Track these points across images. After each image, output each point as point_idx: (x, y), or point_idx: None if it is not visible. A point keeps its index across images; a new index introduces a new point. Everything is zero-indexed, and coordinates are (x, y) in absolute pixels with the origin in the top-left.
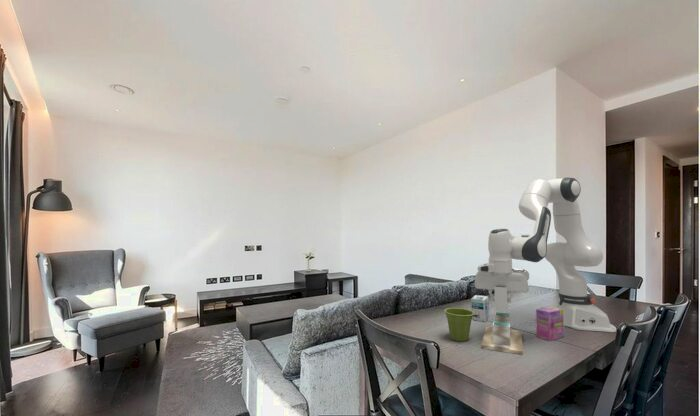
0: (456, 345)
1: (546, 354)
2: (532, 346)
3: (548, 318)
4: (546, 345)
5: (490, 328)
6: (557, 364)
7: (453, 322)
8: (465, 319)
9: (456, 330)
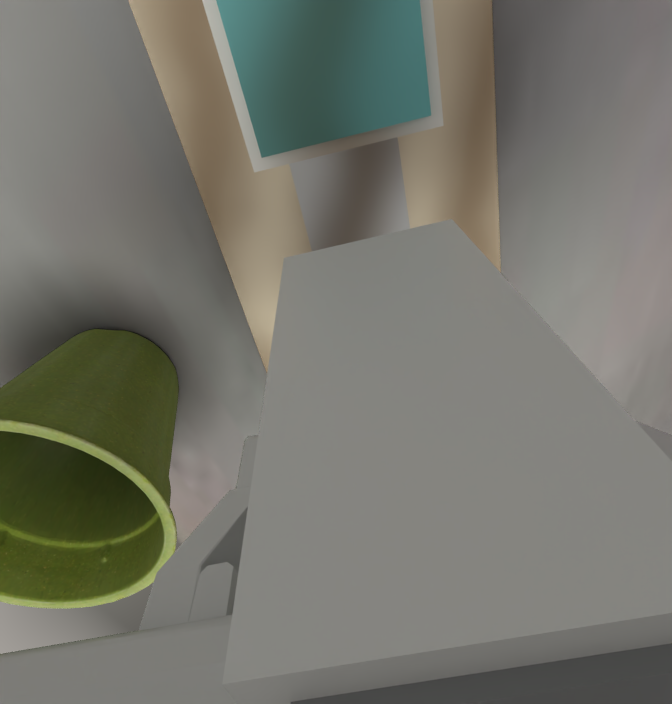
0: (177, 468)
1: (626, 303)
2: (560, 210)
3: None
4: (668, 108)
5: (179, 5)
6: (650, 401)
7: (83, 529)
8: (153, 539)
9: (120, 478)
